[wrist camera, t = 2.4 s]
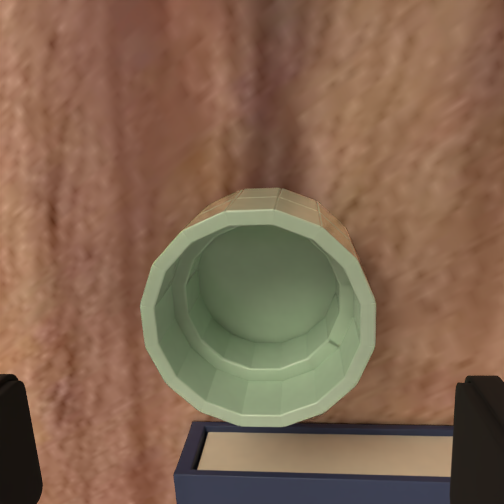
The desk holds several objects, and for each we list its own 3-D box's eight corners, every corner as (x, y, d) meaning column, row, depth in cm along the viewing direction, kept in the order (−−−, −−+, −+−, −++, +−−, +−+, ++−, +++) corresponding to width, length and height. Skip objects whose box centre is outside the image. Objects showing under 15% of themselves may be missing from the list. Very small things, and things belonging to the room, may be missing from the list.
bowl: (170, 189, 18) (127, 214, 14) (359, 182, 17) (378, 205, 13) (187, 356, 20) (154, 425, 15) (358, 356, 19) (374, 429, 15)
